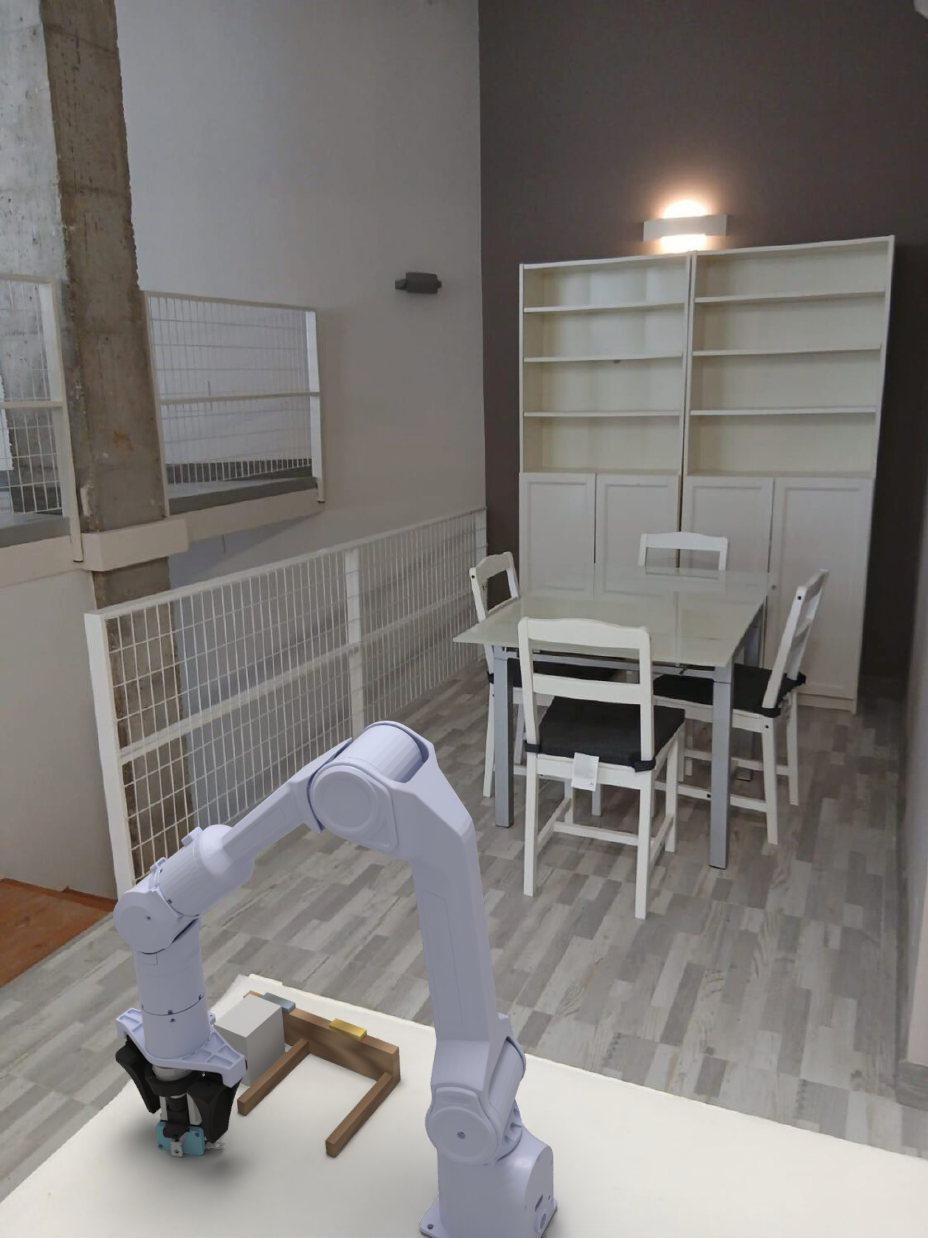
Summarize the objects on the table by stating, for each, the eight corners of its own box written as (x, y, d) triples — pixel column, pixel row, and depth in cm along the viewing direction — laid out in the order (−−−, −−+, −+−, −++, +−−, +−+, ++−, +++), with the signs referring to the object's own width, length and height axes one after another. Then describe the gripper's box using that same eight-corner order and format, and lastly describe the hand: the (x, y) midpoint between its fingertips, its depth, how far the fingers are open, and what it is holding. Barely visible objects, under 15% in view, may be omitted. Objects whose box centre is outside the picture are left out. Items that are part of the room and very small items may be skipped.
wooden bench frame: (400, 1080, 95) (398, 1042, 94) (334, 1158, 86) (331, 1116, 85) (253, 1021, 105) (250, 985, 104) (179, 1085, 96) (175, 1047, 94)
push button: (235, 1129, 89) (226, 1041, 87) (210, 1174, 84) (199, 1082, 82) (173, 1120, 91) (162, 1033, 88) (144, 1163, 86) (132, 1072, 83)
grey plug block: (285, 1054, 100) (281, 1006, 98) (250, 1087, 95) (245, 1037, 94) (254, 1041, 102) (249, 993, 100) (218, 1073, 97) (213, 1024, 96)
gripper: (263, 993, 84) (275, 1119, 87) (150, 950, 91) (165, 1068, 94) (207, 1041, 78) (222, 1174, 81) (91, 991, 85) (109, 1115, 88)
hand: (188, 1120), depth 87 cm, fingers open, 7 cm apart
